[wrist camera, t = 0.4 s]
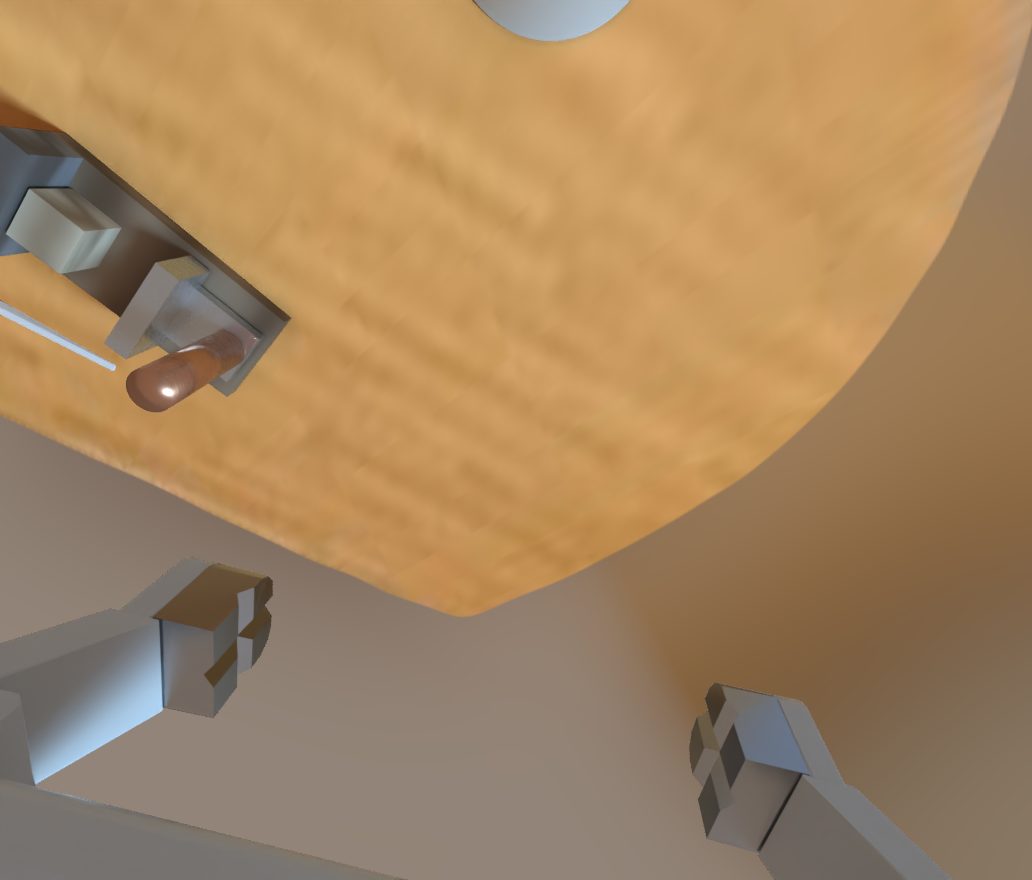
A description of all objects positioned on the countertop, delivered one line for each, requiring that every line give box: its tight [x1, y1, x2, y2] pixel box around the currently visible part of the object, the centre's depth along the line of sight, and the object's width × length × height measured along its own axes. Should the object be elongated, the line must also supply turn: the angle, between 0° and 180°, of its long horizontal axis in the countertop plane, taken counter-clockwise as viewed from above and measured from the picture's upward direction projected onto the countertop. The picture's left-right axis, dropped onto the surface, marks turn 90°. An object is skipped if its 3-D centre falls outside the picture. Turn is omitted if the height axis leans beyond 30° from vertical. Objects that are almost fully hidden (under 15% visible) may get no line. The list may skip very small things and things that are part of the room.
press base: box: [0, 126, 291, 397], centre depth 43 cm, size 20×9×6 cm, turn 47°
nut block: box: [6, 189, 122, 274], centre depth 41 cm, size 4×4×4 cm
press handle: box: [104, 255, 264, 412], centre depth 40 cm, size 8×8×11 cm
